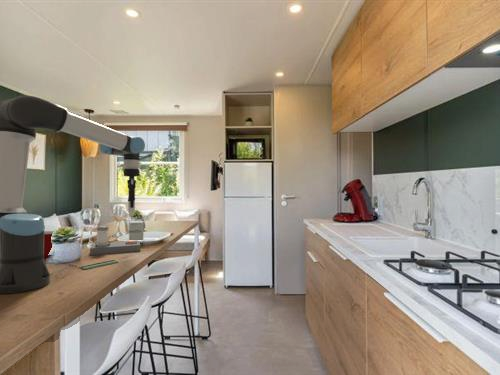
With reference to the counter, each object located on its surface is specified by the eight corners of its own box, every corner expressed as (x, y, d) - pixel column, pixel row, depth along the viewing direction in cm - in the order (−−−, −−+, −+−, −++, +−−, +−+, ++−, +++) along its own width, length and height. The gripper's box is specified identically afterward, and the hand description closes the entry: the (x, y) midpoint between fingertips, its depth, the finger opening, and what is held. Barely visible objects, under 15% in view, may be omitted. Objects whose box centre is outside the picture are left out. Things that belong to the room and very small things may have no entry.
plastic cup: (65, 254, 141) (65, 229, 141) (47, 260, 130) (47, 233, 130) (44, 254, 142) (44, 229, 142) (24, 259, 131) (24, 232, 131)
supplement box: (128, 245, 165) (128, 222, 164) (130, 242, 172) (130, 221, 172) (142, 244, 167) (142, 222, 166) (143, 242, 174) (143, 220, 174)
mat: (84, 269, 116) (84, 268, 116) (68, 264, 124) (68, 262, 124) (117, 262, 127) (117, 261, 127) (101, 257, 136) (101, 256, 136)
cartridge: (100, 252, 141) (100, 227, 141) (94, 251, 144) (95, 226, 144) (110, 251, 145) (110, 226, 145) (105, 249, 148) (105, 225, 148)
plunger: (127, 249, 147) (127, 242, 147) (126, 247, 151) (126, 240, 151) (135, 248, 149) (135, 241, 149) (135, 247, 152) (135, 240, 152)
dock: (90, 257, 137) (90, 248, 137) (92, 251, 148) (92, 243, 148) (140, 252, 146) (140, 244, 146) (138, 248, 157) (138, 240, 157)
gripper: (140, 167, 141) (140, 215, 142) (138, 169, 160) (138, 211, 160) (124, 167, 138) (123, 215, 139) (123, 169, 157) (123, 212, 157)
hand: (131, 213), depth 149 cm, fingers open, 8 cm apart
